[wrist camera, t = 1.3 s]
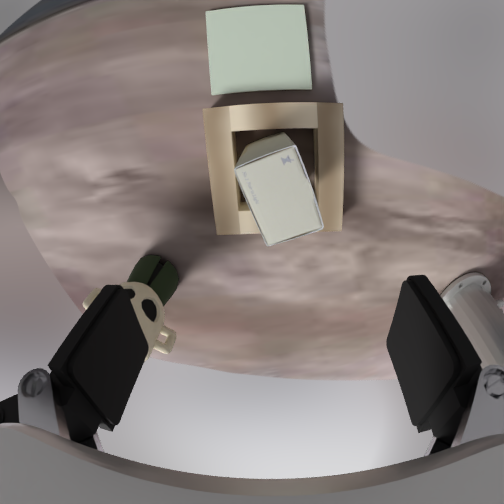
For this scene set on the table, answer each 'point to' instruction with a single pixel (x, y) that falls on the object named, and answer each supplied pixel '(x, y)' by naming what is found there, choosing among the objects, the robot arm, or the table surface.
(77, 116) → the table surface
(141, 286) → the character mug
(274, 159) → the skincare box
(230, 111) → the holder block
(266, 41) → the sage mat
